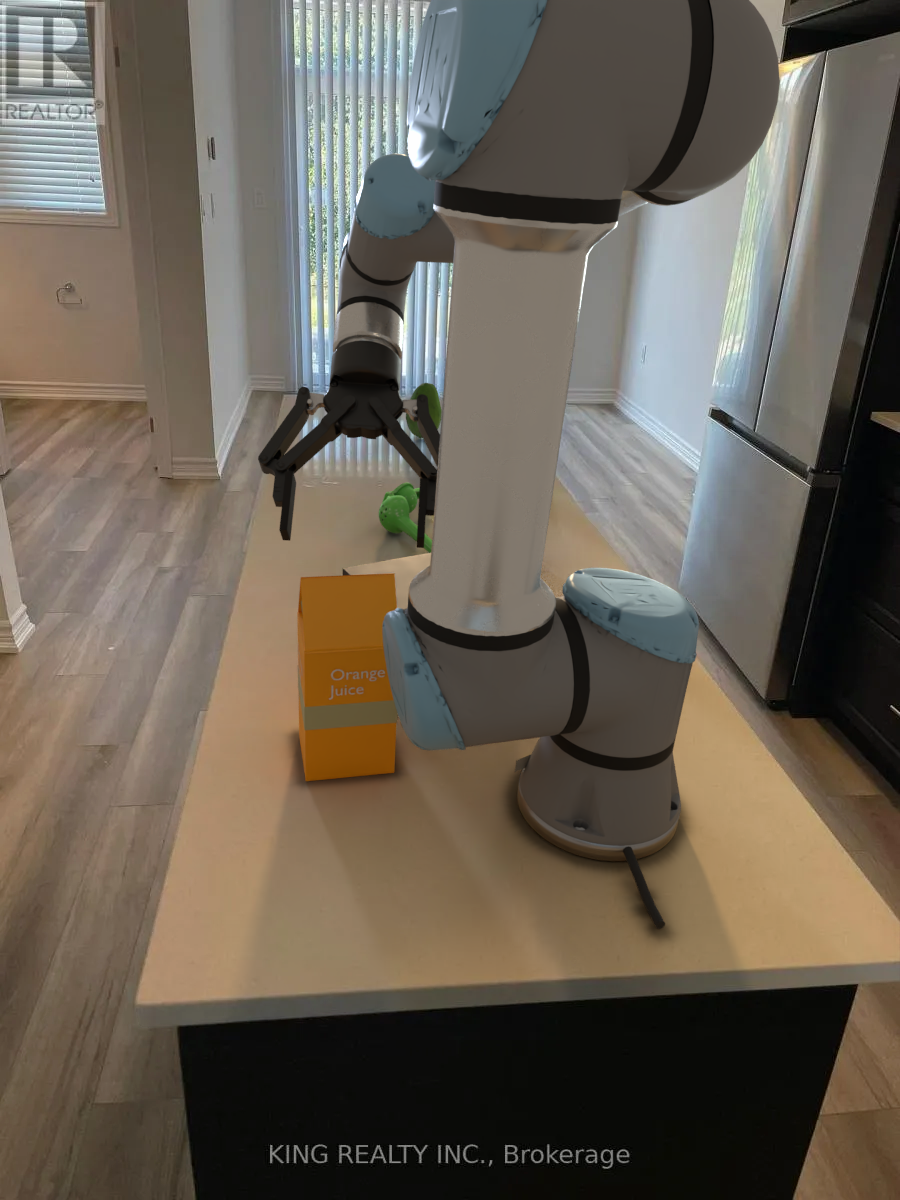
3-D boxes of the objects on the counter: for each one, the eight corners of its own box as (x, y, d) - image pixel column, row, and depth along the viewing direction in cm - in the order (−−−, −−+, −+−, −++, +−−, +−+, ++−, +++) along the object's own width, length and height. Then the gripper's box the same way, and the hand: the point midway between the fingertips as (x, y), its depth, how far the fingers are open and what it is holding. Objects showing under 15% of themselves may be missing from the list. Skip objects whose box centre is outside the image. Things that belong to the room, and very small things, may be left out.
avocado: (446, 437, 192) (450, 383, 187) (427, 444, 186) (430, 388, 181) (417, 430, 196) (419, 376, 190) (397, 437, 190) (399, 382, 184)
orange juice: (395, 773, 85) (403, 591, 76) (304, 782, 83) (302, 596, 74) (382, 727, 92) (388, 555, 83) (298, 734, 90) (295, 559, 81)
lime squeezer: (451, 568, 129) (454, 529, 126) (372, 564, 129) (373, 525, 126) (449, 493, 159) (451, 460, 156) (385, 489, 159) (386, 456, 156)
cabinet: (441, 615, 116) (445, 549, 111) (492, 659, 106) (499, 589, 102) (341, 637, 109) (342, 567, 104) (387, 685, 99) (389, 612, 95)
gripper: (478, 384, 97) (473, 559, 91) (256, 370, 96) (234, 546, 90) (485, 344, 90) (479, 531, 84) (245, 329, 89) (220, 516, 83)
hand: (352, 539), depth 87 cm, fingers open, 13 cm apart
